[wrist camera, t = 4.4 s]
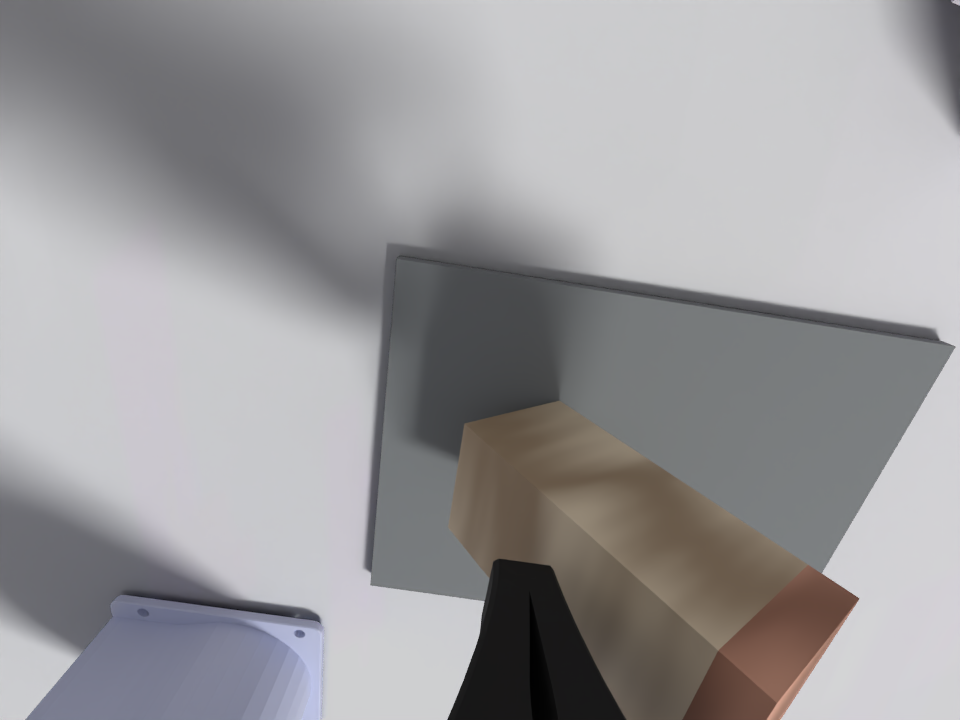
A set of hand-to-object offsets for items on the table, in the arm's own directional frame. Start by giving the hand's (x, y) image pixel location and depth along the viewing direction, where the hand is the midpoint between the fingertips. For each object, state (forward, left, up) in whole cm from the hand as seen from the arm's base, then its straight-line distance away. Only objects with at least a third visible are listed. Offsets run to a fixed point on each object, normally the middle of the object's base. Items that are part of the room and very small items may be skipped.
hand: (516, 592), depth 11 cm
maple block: (0, 0, -5) cm, 5 cm away
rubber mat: (+4, -1, -7) cm, 8 cm away
